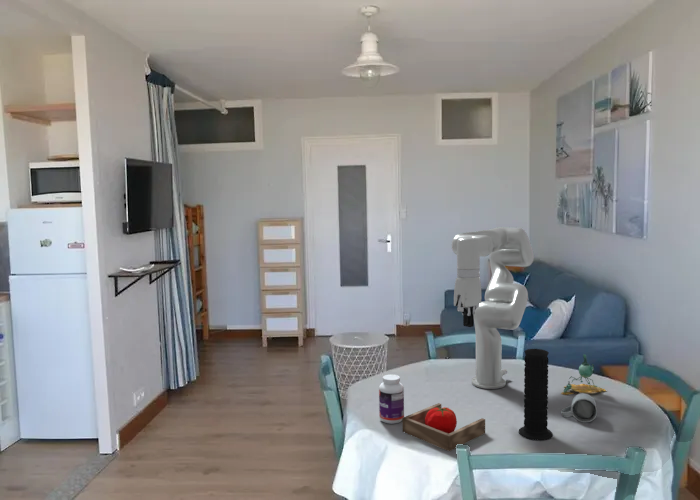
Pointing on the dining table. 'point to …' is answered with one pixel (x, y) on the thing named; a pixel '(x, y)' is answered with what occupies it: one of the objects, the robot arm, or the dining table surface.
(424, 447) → the dining table surface
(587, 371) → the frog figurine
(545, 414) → the handle grip
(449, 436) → the box
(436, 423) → the tomato
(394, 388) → the pill bottle
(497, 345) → the robot arm
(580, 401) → the ceramic mug
